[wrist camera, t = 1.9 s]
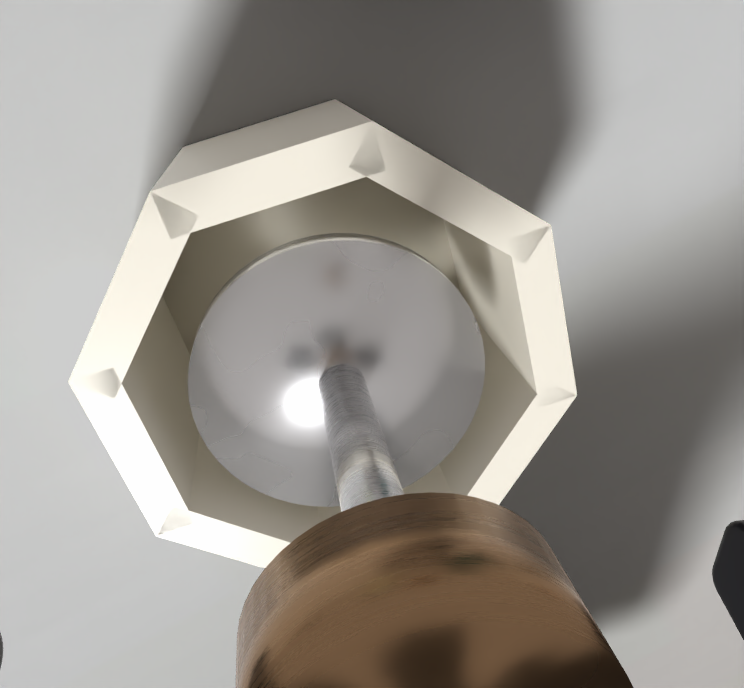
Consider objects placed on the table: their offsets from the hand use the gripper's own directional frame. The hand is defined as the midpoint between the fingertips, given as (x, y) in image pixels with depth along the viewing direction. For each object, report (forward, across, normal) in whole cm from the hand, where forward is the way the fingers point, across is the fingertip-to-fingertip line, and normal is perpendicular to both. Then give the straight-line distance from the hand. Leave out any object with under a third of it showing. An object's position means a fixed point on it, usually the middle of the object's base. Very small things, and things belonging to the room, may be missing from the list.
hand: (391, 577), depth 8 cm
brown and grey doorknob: (+5, 0, 0) cm, 5 cm away
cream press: (+10, 0, 0) cm, 10 cm away
